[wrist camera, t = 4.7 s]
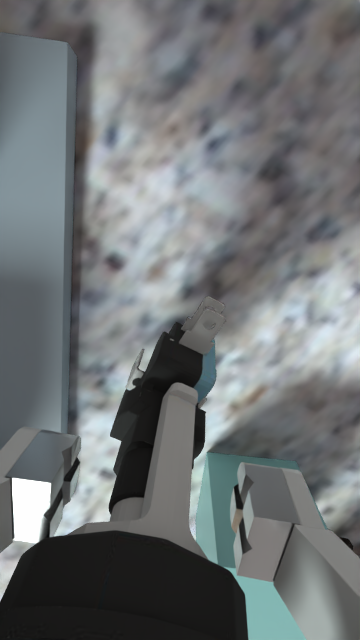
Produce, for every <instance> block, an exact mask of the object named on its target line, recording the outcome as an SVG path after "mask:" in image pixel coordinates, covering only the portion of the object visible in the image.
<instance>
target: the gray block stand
mask: <svg viewBox="0 0 360 640" xmlns="http://www.w3.org/2000/svg"><path fill="white" fill-rule="evenodd" d="M76 84H77V56H76V55H75V53H74V52H73V50H72V48H71V47H70V45H69V44H68V42H63V41H56V40H50V39H43V38H36V37H30V36H23V35H17V34H10V33H3V32H0V450H1V449H2V448H3V447H4V446H5V444H6V443H7V442H8V441H9V440H10V439H11V438H12V436H13V435H14V434H15V433H16V432H17V431H18V430H19V429H20V428H22V427H24V426H25V427H31V428H36V429H41V430H43V429H44V430H49V431H54V432H60V433H65V434H68V399H69V360H70V320H71V281H72V242H73V202H74V163H75V124H76ZM64 506H65V505H64ZM64 506H63V508H64Z"/></svg>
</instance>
